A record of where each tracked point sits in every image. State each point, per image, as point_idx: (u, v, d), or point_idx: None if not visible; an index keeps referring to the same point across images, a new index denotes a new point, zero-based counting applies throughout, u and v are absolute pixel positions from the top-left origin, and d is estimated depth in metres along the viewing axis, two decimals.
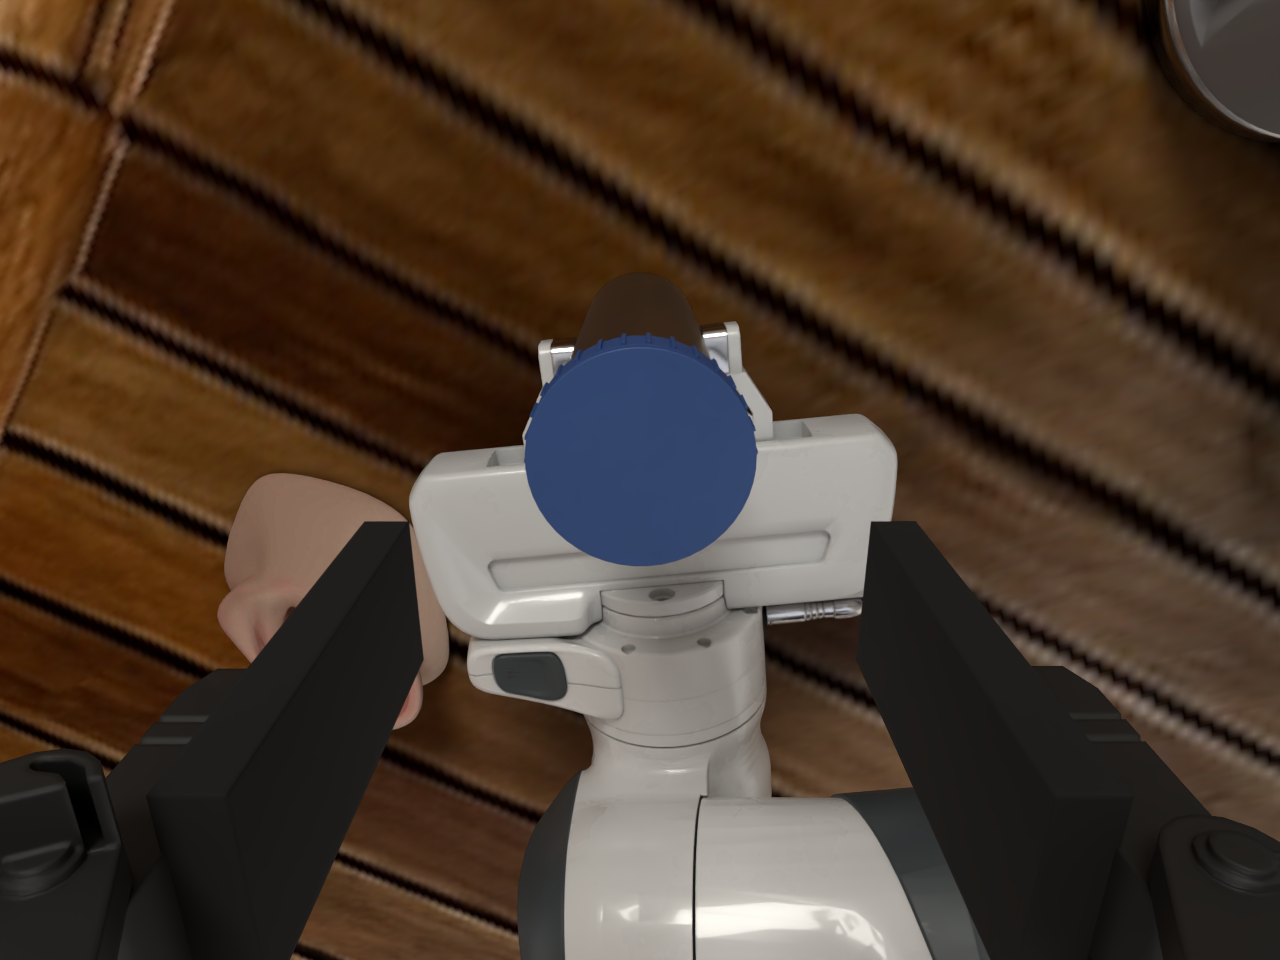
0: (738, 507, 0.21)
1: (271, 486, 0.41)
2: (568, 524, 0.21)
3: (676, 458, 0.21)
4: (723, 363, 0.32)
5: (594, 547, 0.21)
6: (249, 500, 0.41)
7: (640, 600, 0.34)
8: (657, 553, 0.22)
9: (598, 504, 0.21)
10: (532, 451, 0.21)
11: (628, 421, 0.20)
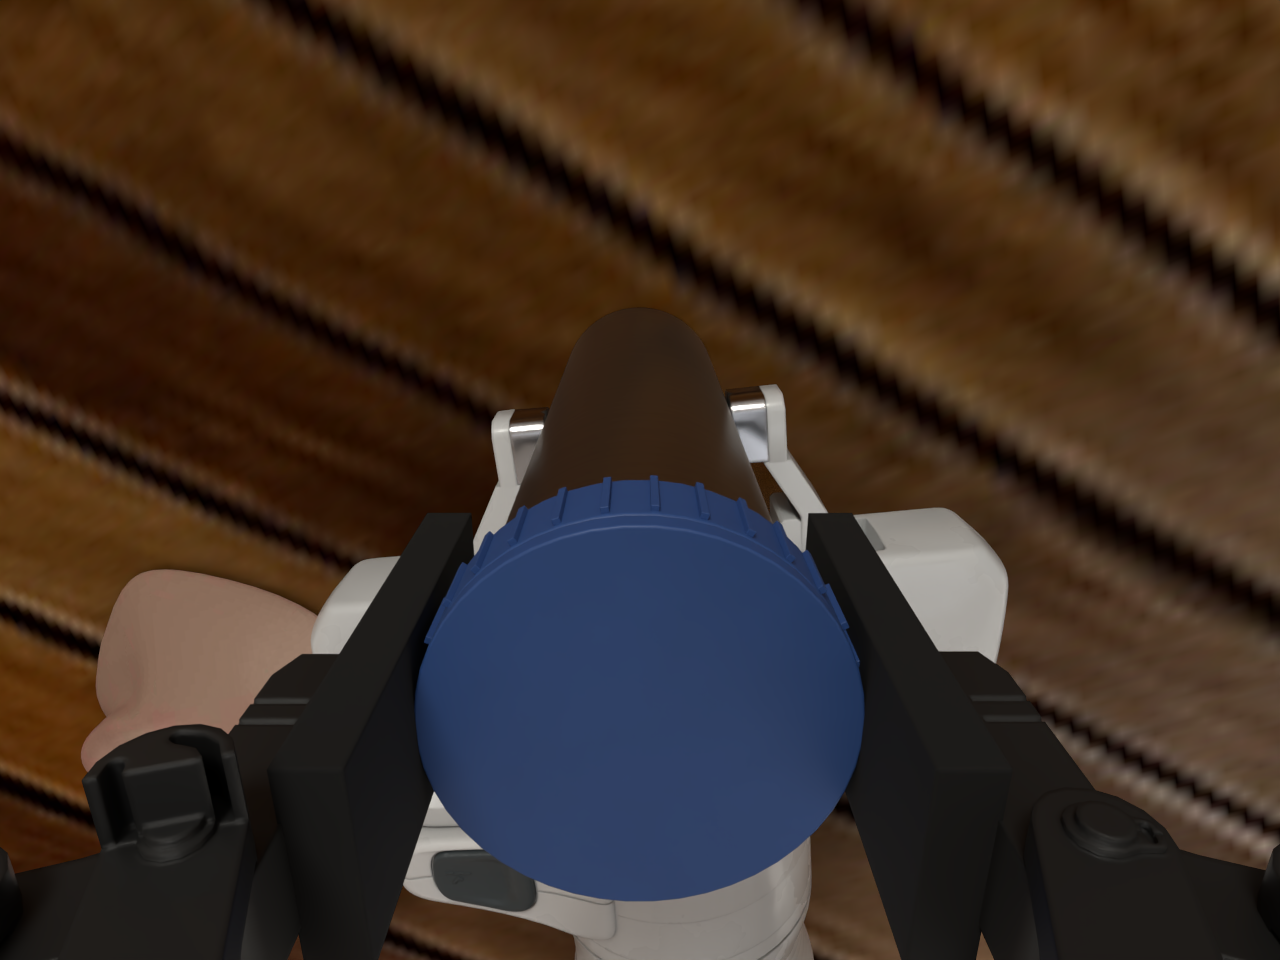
0: (825, 808, 0.11)
1: (150, 588, 0.31)
2: (502, 836, 0.11)
3: (708, 725, 0.11)
4: (760, 447, 0.22)
5: (552, 872, 0.11)
6: (122, 605, 0.31)
7: None
8: (670, 882, 0.12)
9: (558, 803, 0.11)
10: (428, 714, 0.11)
11: (614, 660, 0.10)
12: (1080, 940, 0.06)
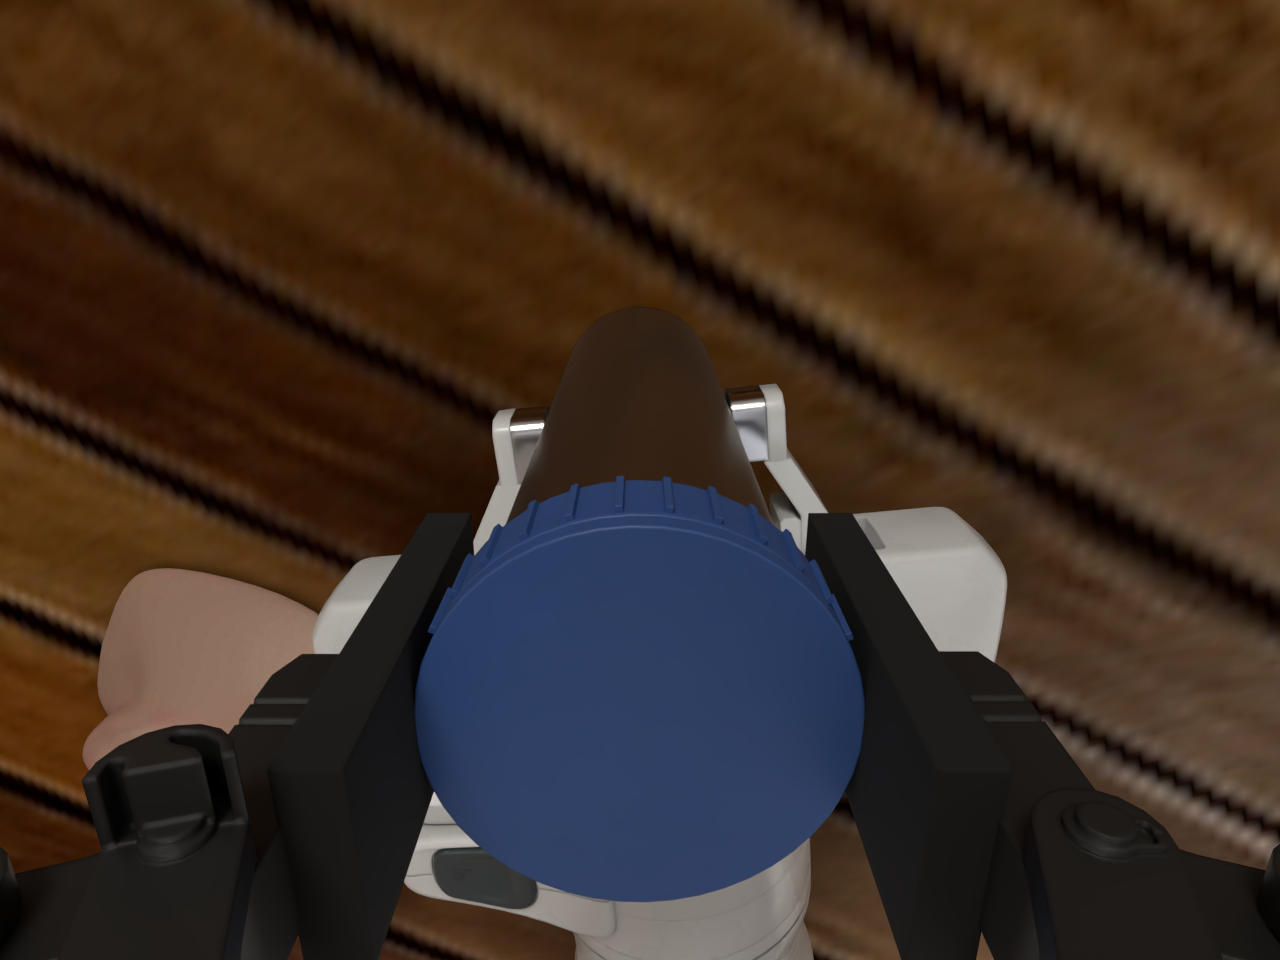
0: (774, 575, 0.10)
1: (152, 586, 0.31)
2: (738, 860, 0.11)
3: (643, 672, 0.10)
4: (760, 446, 0.22)
5: (795, 829, 0.11)
6: (124, 604, 0.31)
7: None
8: (837, 731, 0.11)
9: (709, 810, 0.11)
10: (587, 888, 0.12)
11: (553, 741, 0.11)
12: (1080, 940, 0.06)
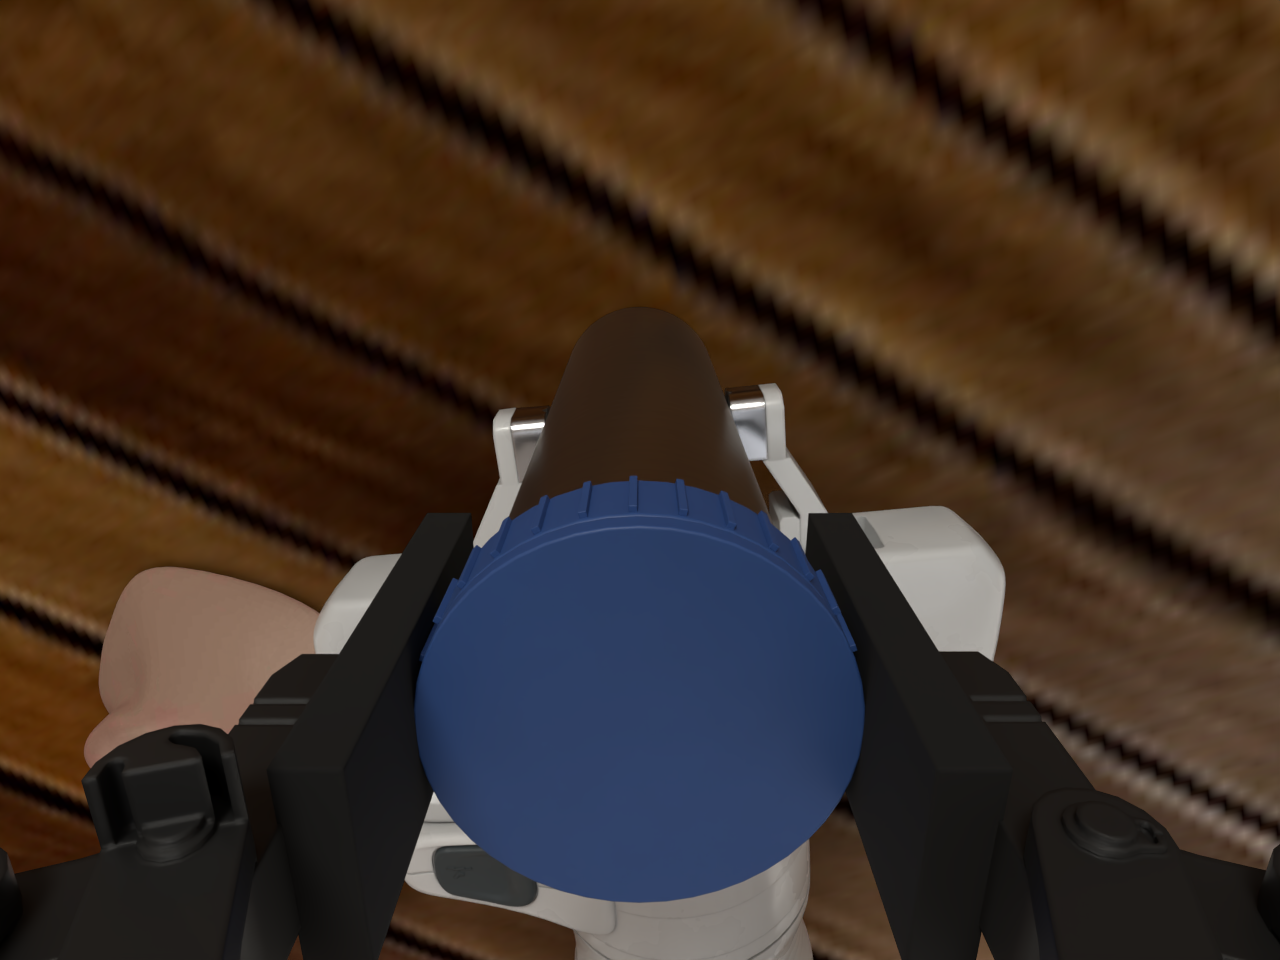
0: (475, 600, 0.10)
1: (153, 585, 0.31)
2: (824, 667, 0.10)
3: (570, 720, 0.11)
4: (759, 446, 0.23)
5: (795, 608, 0.10)
6: (125, 602, 0.31)
7: None
8: (672, 556, 0.10)
9: (749, 685, 0.10)
10: (823, 805, 0.11)
11: (635, 803, 0.11)
12: (1080, 940, 0.06)
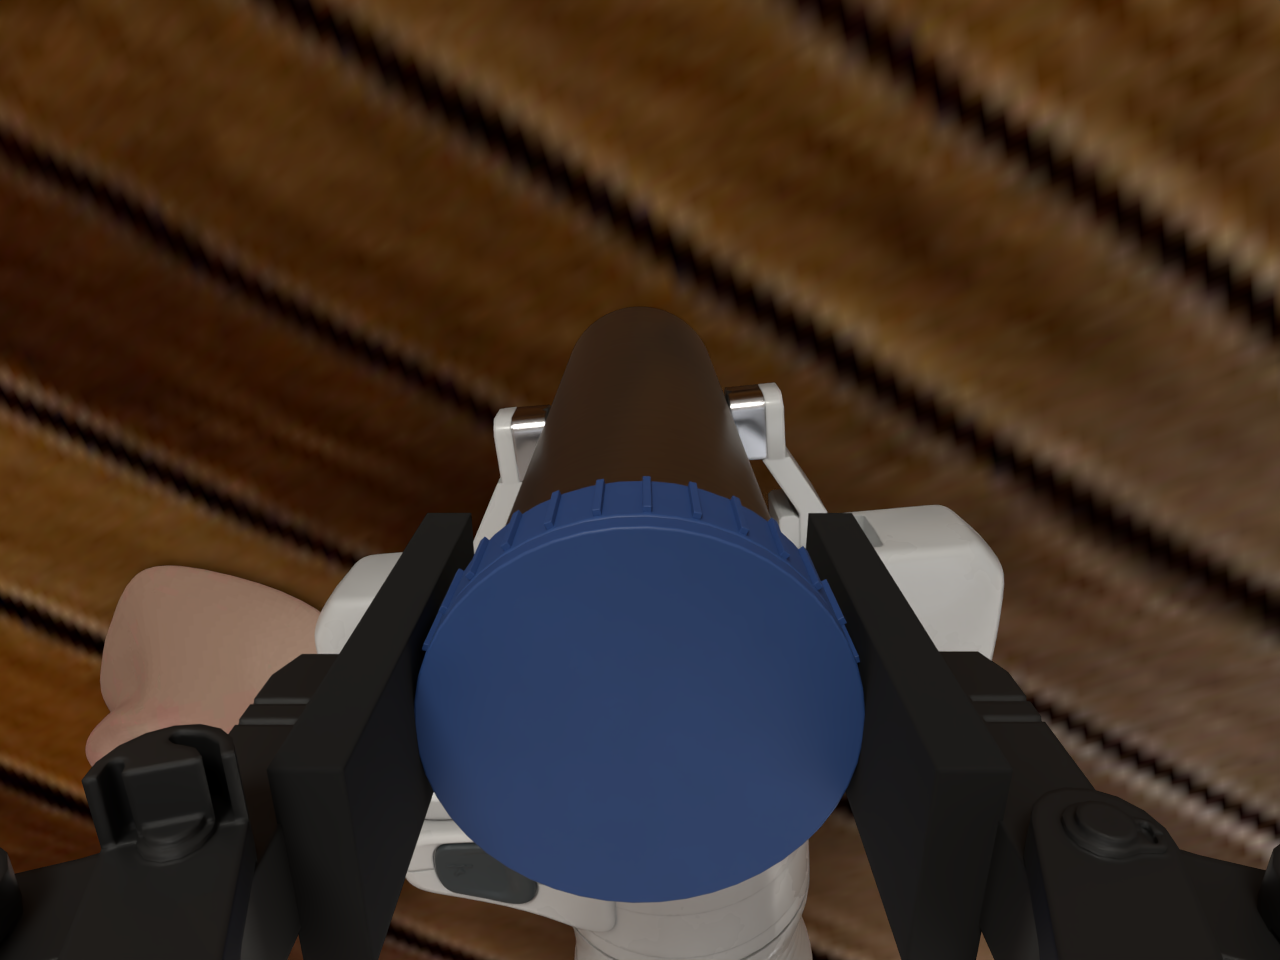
0: (473, 834, 0.11)
1: (154, 583, 0.31)
2: (587, 563, 0.10)
3: (614, 785, 0.11)
4: (759, 445, 0.23)
5: (514, 584, 0.10)
6: (126, 601, 0.31)
7: None
8: (446, 681, 0.10)
9: (599, 633, 0.10)
10: (767, 578, 0.10)
11: (723, 748, 0.11)
12: (1080, 940, 0.06)
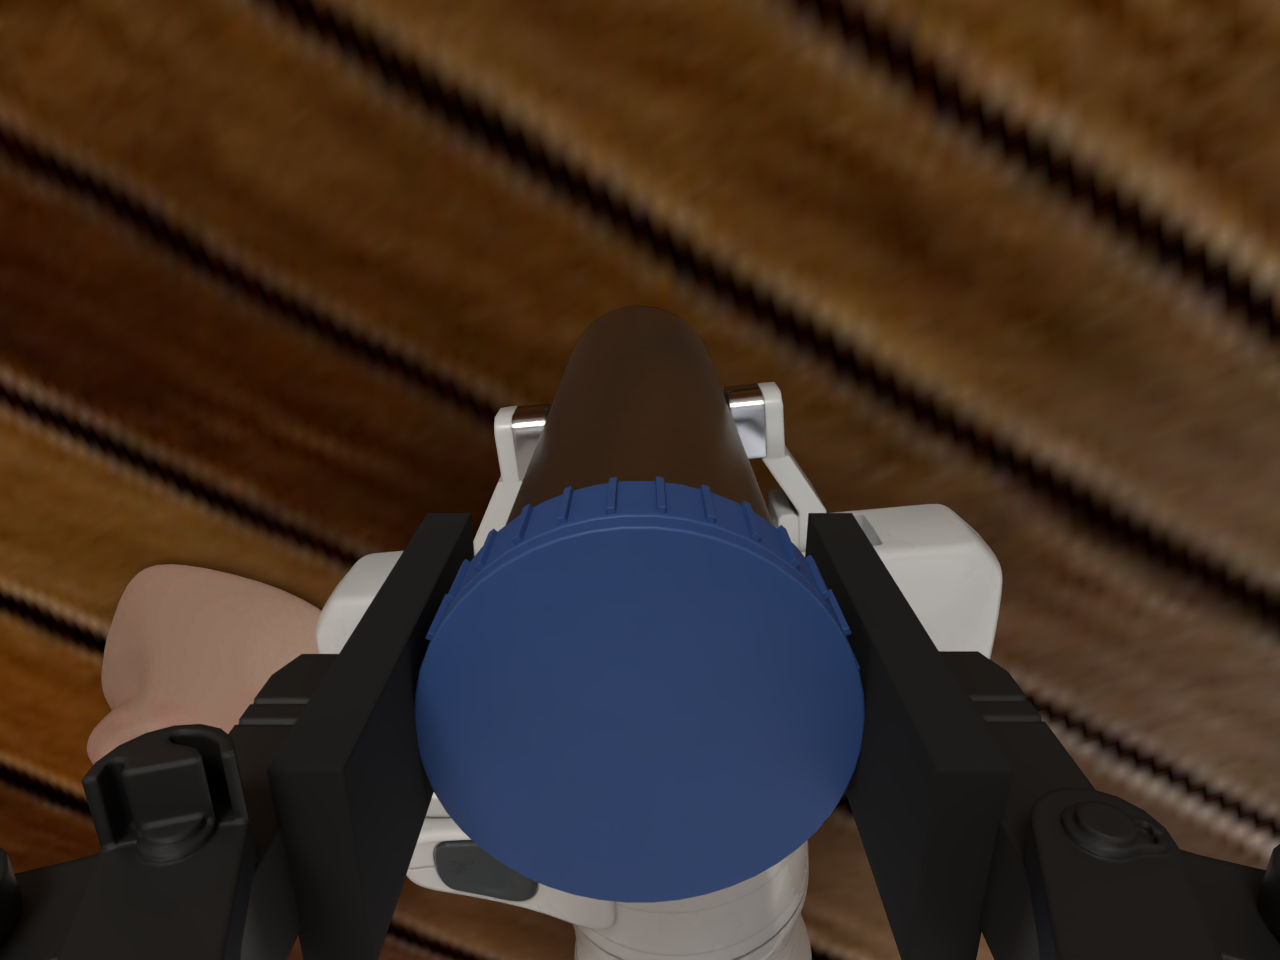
0: (728, 882, 0.12)
1: (156, 582, 0.31)
2: (446, 747, 0.11)
3: (698, 762, 0.11)
4: (758, 444, 0.23)
5: (461, 803, 0.11)
6: (128, 599, 0.31)
7: None
8: (554, 869, 0.11)
9: (520, 749, 0.11)
10: (477, 605, 0.10)
11: (672, 664, 0.10)
12: (1080, 940, 0.06)
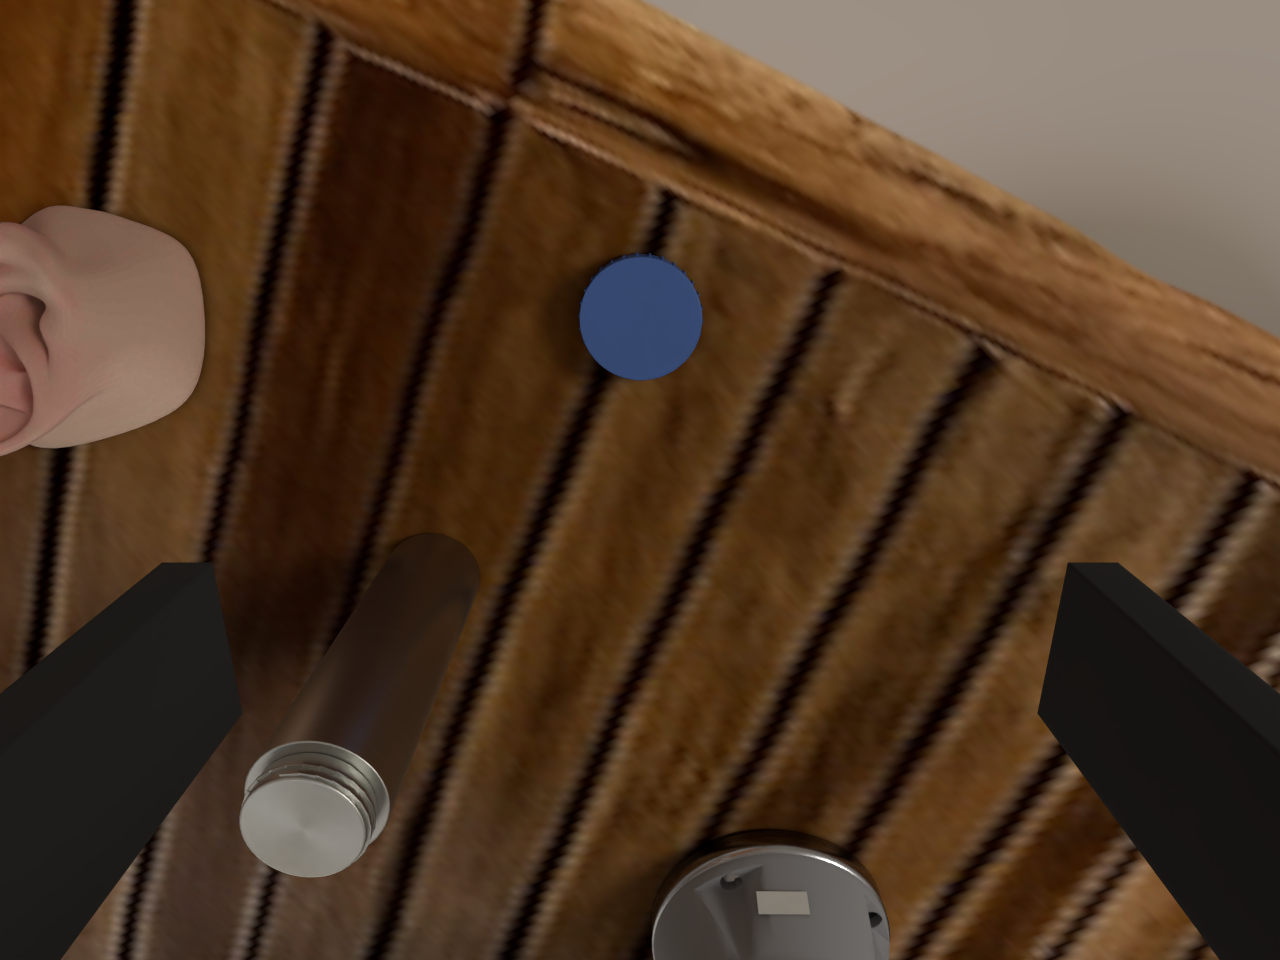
0: (697, 302, 0.39)
1: (178, 264, 0.39)
2: (636, 372, 0.40)
3: (653, 305, 0.39)
4: None
5: (655, 372, 0.40)
6: (154, 240, 0.39)
7: None
8: (683, 352, 0.40)
9: (640, 353, 0.40)
10: (595, 354, 0.40)
11: (620, 308, 0.39)
12: None
